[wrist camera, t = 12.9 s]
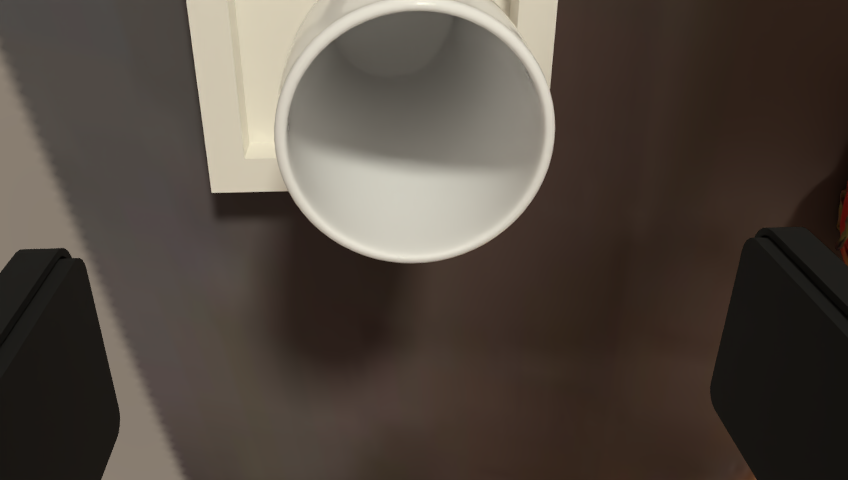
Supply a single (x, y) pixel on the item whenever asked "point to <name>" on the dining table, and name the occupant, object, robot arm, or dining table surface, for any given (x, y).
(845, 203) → the dragon fruit
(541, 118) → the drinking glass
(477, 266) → the dining table surface
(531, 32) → the tray
